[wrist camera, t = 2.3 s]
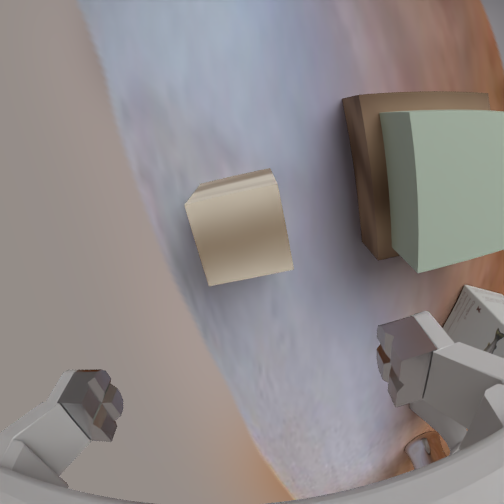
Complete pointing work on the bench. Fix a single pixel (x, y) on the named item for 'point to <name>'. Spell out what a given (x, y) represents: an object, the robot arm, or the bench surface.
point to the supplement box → (478, 320)
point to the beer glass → (425, 449)
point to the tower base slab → (373, 153)
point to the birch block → (239, 227)
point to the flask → (441, 424)
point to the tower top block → (445, 184)
